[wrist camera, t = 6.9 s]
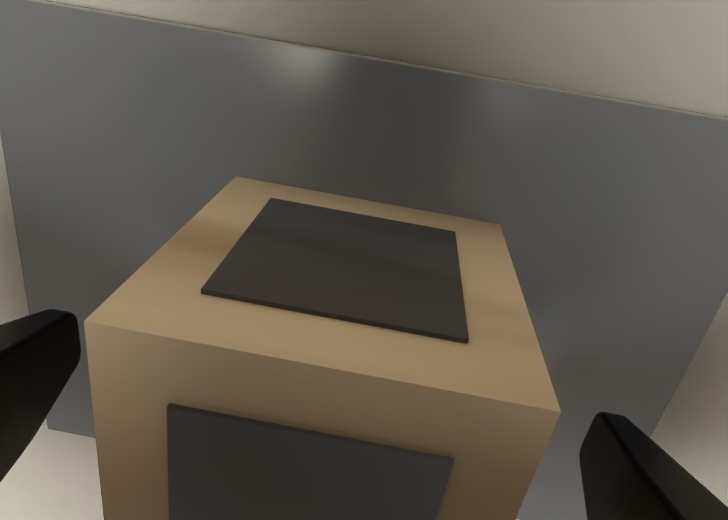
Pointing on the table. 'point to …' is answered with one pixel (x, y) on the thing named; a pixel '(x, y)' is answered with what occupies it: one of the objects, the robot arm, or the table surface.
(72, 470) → the table surface
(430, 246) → the tan cube block
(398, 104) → the slate pad
